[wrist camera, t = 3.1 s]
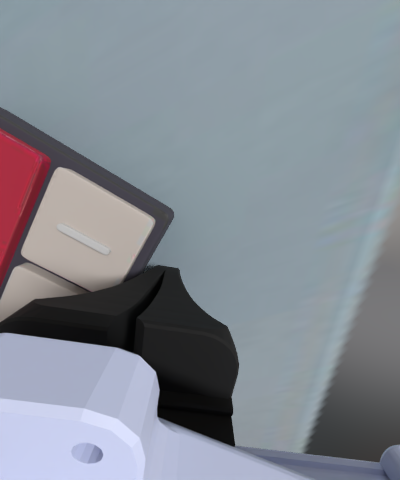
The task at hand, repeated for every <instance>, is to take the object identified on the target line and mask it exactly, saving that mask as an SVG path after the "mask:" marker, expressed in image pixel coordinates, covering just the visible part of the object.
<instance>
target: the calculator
mask: <svg viewBox="0 0 400 480" xmlns="http://www.w3.org/2000/svg"><path fill="white" fill-rule="evenodd" d="M173 218H174V212H173V210H172V209H171V208H169V207H168V206H166V205H164V204H163V203H161V202H159V201H158V200H156V199H154V198H153V197H151V196H149V195H148V194H146V193H144V192H143V191H141V190H139V189H138V188H136V187H134V186H133V185H131V184H129V183H128V182H126V181H124V180H123V179H121V178H119V177H118V176H116V175H114V174H112V173H111V172H109V171H107V170H106V169H104V168H102V167H101V166H99V165H97V164H96V163H94V162H92V161H91V160H89V159H87V158H86V157H84V156H82V155H81V154H79V153H77V152H76V151H74V150H72V149H71V148H69V147H67V146H66V145H64V144H62V143H61V142H59V141H57V140H56V139H54V138H52V137H50V136H49V135H47V134H45V133H44V132H42V131H40V130H39V129H37V128H35V127H34V126H32V125H30V124H29V123H27V122H25V121H24V120H22V119H20V118H19V117H17V116H15V115H14V114H12V113H10V112H8V111H7V110H4V109H2V108H0V322H1V321H3V320H4V319H6V318H7V317H9V316H10V315H12V314H13V313H15V312H16V311H18V310H19V309H21V308H22V307H24V306H25V305H26V304H28V303H29V302H31V301H32V300H34V299H42V298H53V297H64V296H71V295H78V294H84V293H89V292H94V291H98V290H102V289H105V288H109V287H113V286H116V285H118V284H121V283H124V282H126V281H129V280H131V279H133V278H135V277H137V276H139V275H141V274H142V272H143V271H144V269H145V267H146V265H147V264H148V262H149V260H150V258H151V257H152V255H153V253H154V251H155V250H156V248H157V246H158V244H159V243H160V241H161V239H162V237H163V236H164V234H165V232H166V230H167V229H168V227H169V225H170V223H171V222H172V220H173Z"/></svg>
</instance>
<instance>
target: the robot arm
mask: <svg viewBox="0 0 400 480" xmlns="http://www.w3.org/2000/svg"><path fill="white" fill-rule="evenodd" d="M238 369H239V362H238V356H237V352H236V348H235V345H234V342H233V339H232V337H231V334H230V332H229V329H228V327H227V326H226V325H224V324H222V323H221V322H219V321H217V320H216V319H214V318H212V317H211V316H210V315H208V314H207V313H206V312H205V311H203V310H202V309H201V308H200V307H199V306H198V305H197V304H196V303H195V302H194V301H193V299H192V298H191V297H190V295H189V294H188V292H187V290H186V288H185V286H184V284H183V282H182V279H181V276H180V270H179V269H178V268H173V267H167V266H160V265H157V266H155V267H154V268H152V269H150V270H148V271H147V272H145V273H143V274H141V275H139V276H137V277H135V278H133V279H131V280H129V281H126V282H124V283H121V284H118V285H116V286H113V287H109V288H105V289H102V290H98V291H94V292H89V293H84V294H78V295H71V296H64V297H53V298H42V299H34V300H32V301H31V302H29V303H28V304H26V305H25V306H24V307H22V308H21V309H19V310H18V311H16V312H15V313H13V314H12V315H10V316H9V317H7V318H6V319H4V320H3V321H1V322H0V480H400V445H394V446H391V447H389V448H387V449H386V450H385V451H384V453H383V455H382V457H381V459H380V463H378V462H370V461H361V460H353V459H344V458H335V457H327V456H318V455H310V454H302V453H293V452H285V451H276V450H268V449H259V448H251V447H242V446H235V441H234V434H233V426H232V419H231V416H232V414H233V405H232V398H231V396H232V393H233V389H234V386H235V382H236V379H237V375H238Z"/></svg>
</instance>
